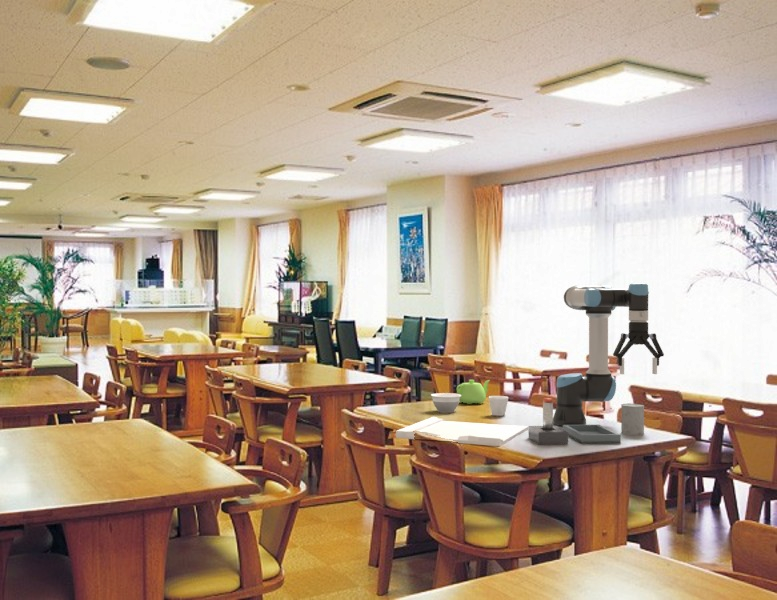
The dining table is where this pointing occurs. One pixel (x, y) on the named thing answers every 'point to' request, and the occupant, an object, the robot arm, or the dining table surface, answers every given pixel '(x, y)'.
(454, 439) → the white flat slab
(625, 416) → the grey cylinder
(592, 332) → the robot arm
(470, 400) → the teapot
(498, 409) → the cup
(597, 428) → the slate tray
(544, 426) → the lynch pin
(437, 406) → the bowl
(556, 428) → the block
